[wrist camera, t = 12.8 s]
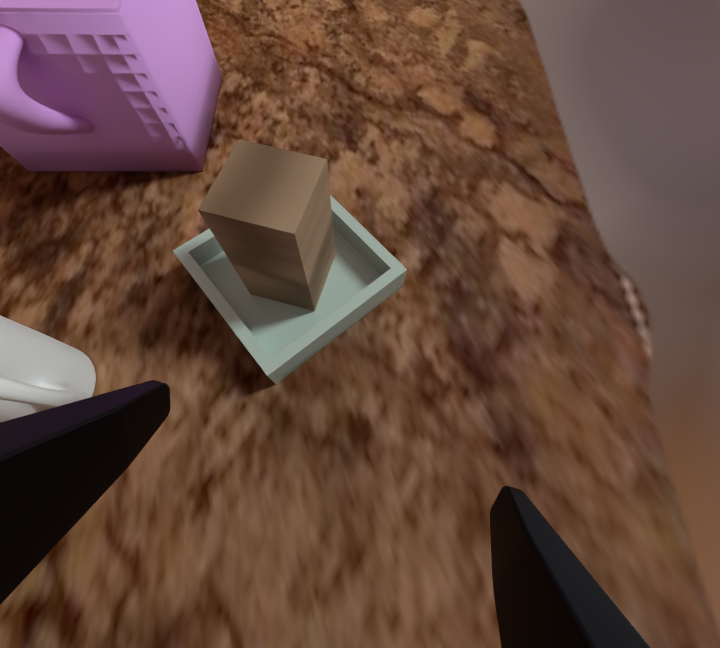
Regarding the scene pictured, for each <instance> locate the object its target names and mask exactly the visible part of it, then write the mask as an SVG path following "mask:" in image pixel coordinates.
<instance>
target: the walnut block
mask: <svg viewBox="0 0 720 648" xmlns="http://www.w3.org/2000/svg"><path fill="white" fill-rule="evenodd" d="M198 211H199V212H200V214H201V216H202V217H203V219H204V220H205V222H206V224H207V225H208V227H209V228H210V230H211V232H212V233H213V235H214V236H215V238H216V240H217V241H218V243H219V244H220V246H221V248H222V249H223V251H224V252H225V254H226V256H227V257H228V259H229V260H230V262H231V264H232V265H233V267H234V269H235V270H236V272H237V273H238V275H239V277H240V278H241V280H242V281H243V283H244V285H245V286H246V288H247V289H248V291H249V293H250V294H252V295H256V296H260V297H263V298H267V299H271V300H275V301H278V302H282V303H286V304H289V305H293V306H297V307H301V308H304V309H308V310H312V311H315V309H316V307H317V304H318V301H319V299H320V296H321V293H322V290H323V288H324V285H325V282H326V279H327V277H328V274H329V271H330V268H331V266H332V263H333V260H334V257H335V245H334V234H333V223H332V211H331V200H330V188H329V177H328V166H327V159H324V158H319V157H315V156H310V155H306V154H302V153H297V152H293V151H288V150H284V149H280V148H275V147H271V146H266V145H262V144H258V143H253V142H249V141H244V140H240V139H239V140H238V142H237V144H236V146H235V147H234V149H233V151H232V152H231V154H230V156H229V157H228V159H227V161H226V163H225V164H224V166H223V168H222V169H221V171H220V173H219V175H218V176H217V178H216V180H215V181H214V183H213V185H212V187H211V188H210V190H209V192H208V193H207V195H206V197H205V198H204V200H203V202H202V204H201V205H200V207H199V209H198Z"/></svg>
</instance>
